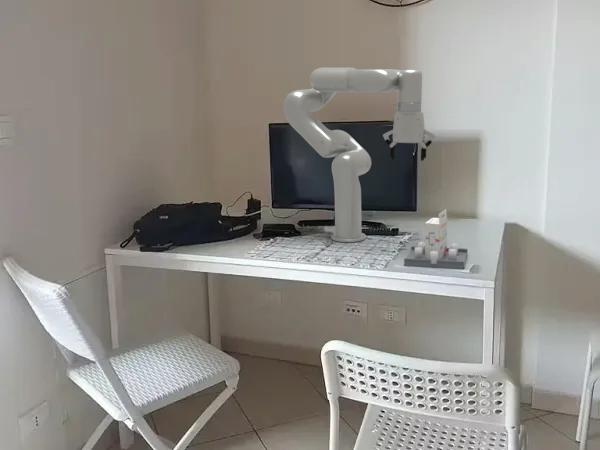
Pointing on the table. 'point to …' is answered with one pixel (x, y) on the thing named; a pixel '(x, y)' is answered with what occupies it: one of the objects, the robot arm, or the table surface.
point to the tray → (440, 262)
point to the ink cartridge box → (436, 236)
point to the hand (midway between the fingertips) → (408, 159)
